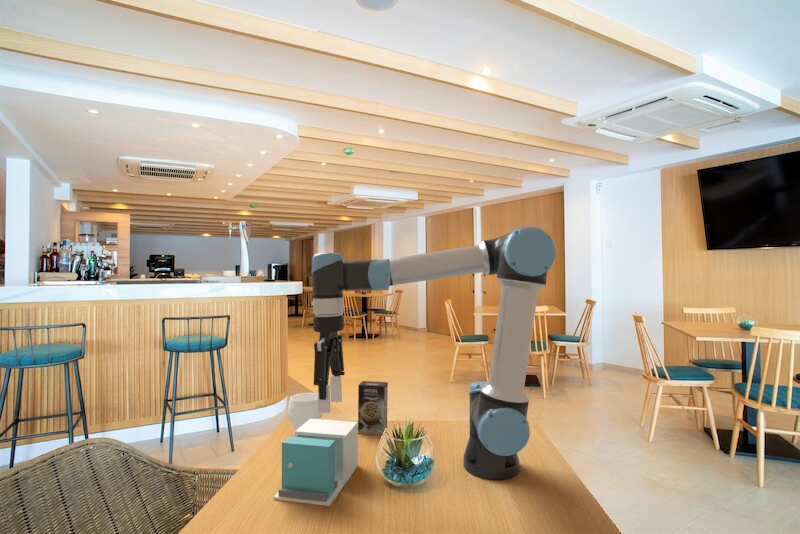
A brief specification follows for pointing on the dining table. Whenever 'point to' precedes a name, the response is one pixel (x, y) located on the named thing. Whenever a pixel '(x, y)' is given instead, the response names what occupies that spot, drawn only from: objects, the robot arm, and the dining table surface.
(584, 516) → the dining table surface
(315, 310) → the robot arm
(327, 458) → the door
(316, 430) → the cabinet
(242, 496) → the dining table surface
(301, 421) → the cup
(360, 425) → the coffee box
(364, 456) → the dining table surface
